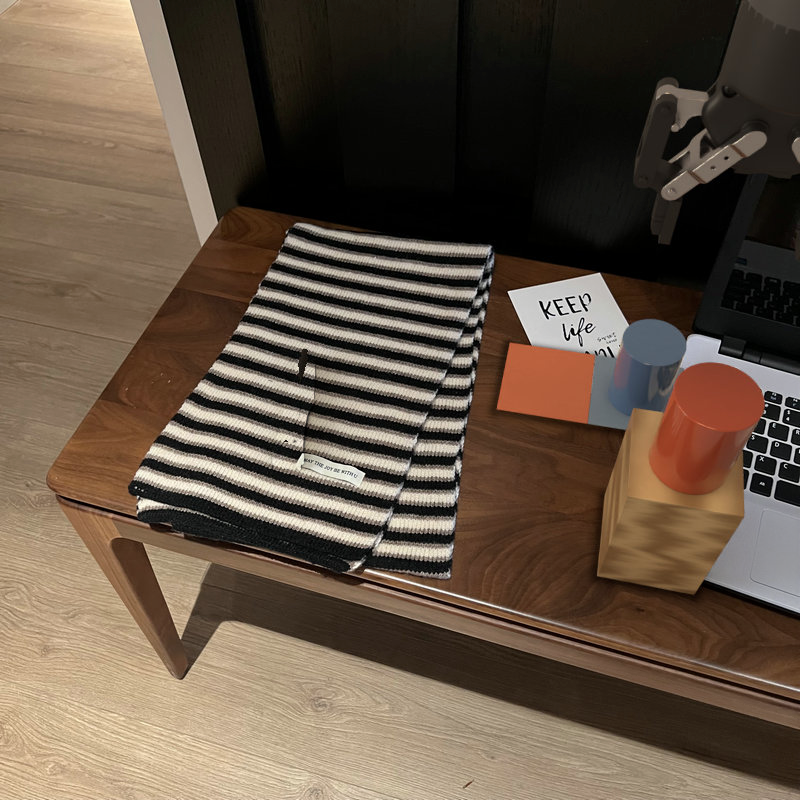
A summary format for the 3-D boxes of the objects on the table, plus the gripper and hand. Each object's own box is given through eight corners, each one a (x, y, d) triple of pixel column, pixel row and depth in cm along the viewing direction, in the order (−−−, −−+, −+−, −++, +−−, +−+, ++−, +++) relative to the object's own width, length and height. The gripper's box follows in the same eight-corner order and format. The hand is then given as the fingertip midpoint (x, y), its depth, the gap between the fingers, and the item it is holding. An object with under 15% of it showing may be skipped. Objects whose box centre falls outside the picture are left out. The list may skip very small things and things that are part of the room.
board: (682, 373, 90) (684, 367, 89) (680, 443, 84) (682, 438, 83) (509, 347, 93) (509, 342, 92) (496, 414, 87) (496, 409, 86)
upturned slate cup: (667, 377, 88) (687, 323, 81) (665, 422, 84) (686, 370, 77) (609, 368, 89) (624, 315, 82) (605, 413, 85) (620, 360, 78)
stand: (693, 515, 79) (742, 424, 66) (692, 597, 73) (744, 516, 61) (603, 499, 80) (633, 407, 67) (596, 578, 75) (627, 496, 62)
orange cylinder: (731, 439, 65) (767, 371, 58) (725, 503, 61) (762, 440, 54) (653, 421, 66) (678, 354, 59) (643, 484, 63) (669, 419, 56)
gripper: (673, 18, 37) (615, 269, 50) (1007, 41, 34) (854, 300, 47) (678, -52, 41) (624, 195, 54) (976, -37, 39) (844, 220, 51)
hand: (731, 244), depth 51 cm, fingers open, 8 cm apart
